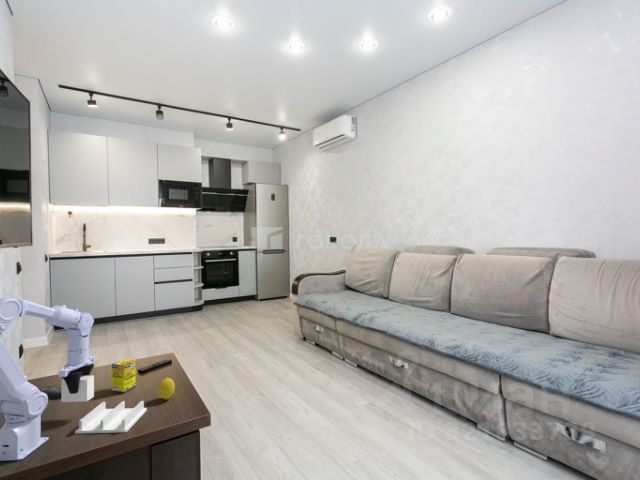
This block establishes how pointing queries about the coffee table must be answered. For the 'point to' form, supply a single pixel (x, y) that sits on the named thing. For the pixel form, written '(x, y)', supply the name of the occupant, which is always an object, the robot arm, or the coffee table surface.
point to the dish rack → (110, 419)
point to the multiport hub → (52, 392)
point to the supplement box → (123, 376)
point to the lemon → (166, 388)
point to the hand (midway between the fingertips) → (77, 390)
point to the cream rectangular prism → (79, 390)
